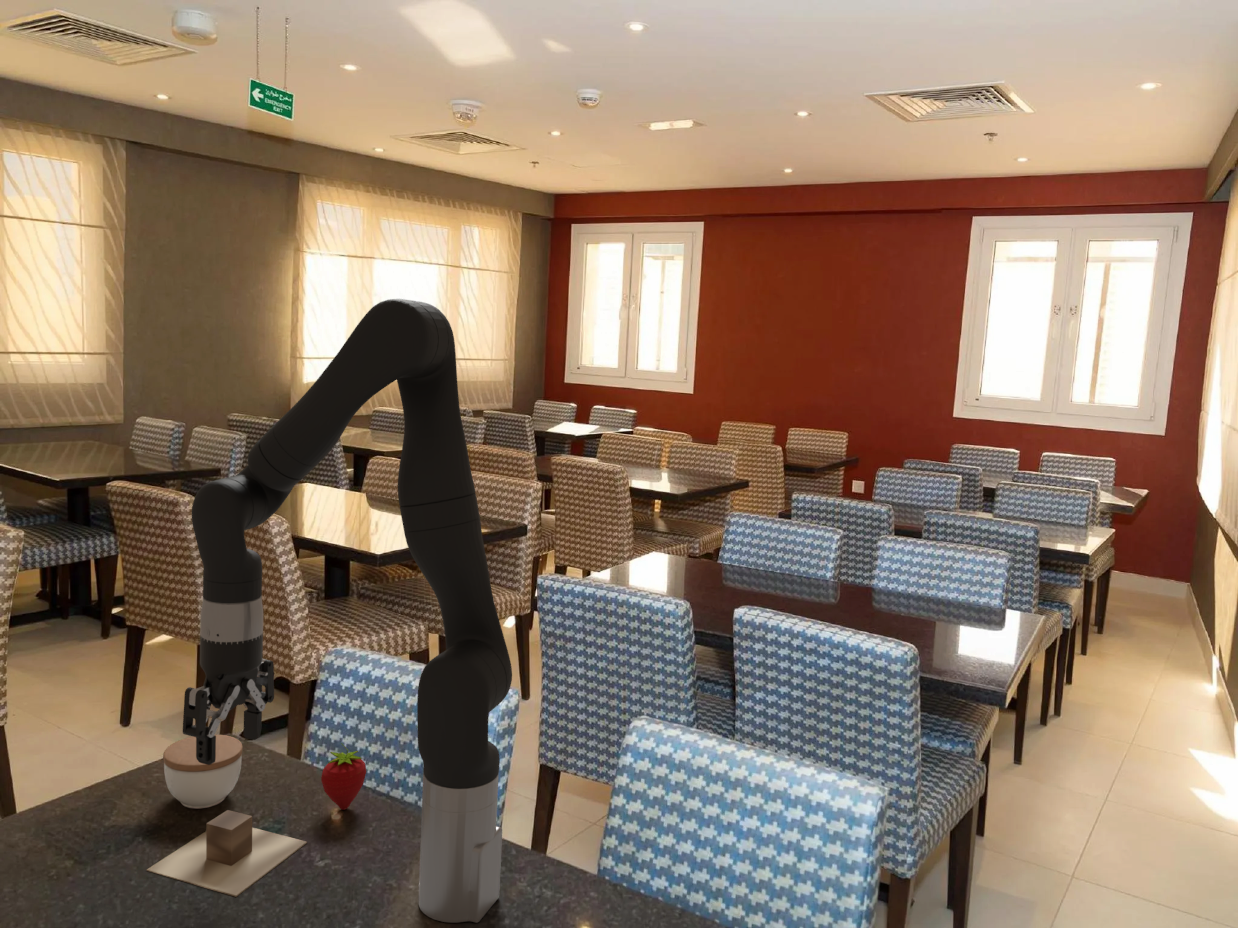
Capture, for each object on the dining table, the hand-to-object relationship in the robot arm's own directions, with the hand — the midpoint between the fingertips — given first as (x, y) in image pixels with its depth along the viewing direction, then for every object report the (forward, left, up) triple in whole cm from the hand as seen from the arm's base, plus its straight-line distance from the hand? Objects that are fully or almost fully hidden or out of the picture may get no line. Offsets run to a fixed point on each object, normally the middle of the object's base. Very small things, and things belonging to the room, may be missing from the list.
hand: (230, 749), depth 127 cm
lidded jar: (+14, -11, -15) cm, 23 cm away
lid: (0, 0, -16) cm, 16 cm away
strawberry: (-6, -17, -15) cm, 24 cm away
